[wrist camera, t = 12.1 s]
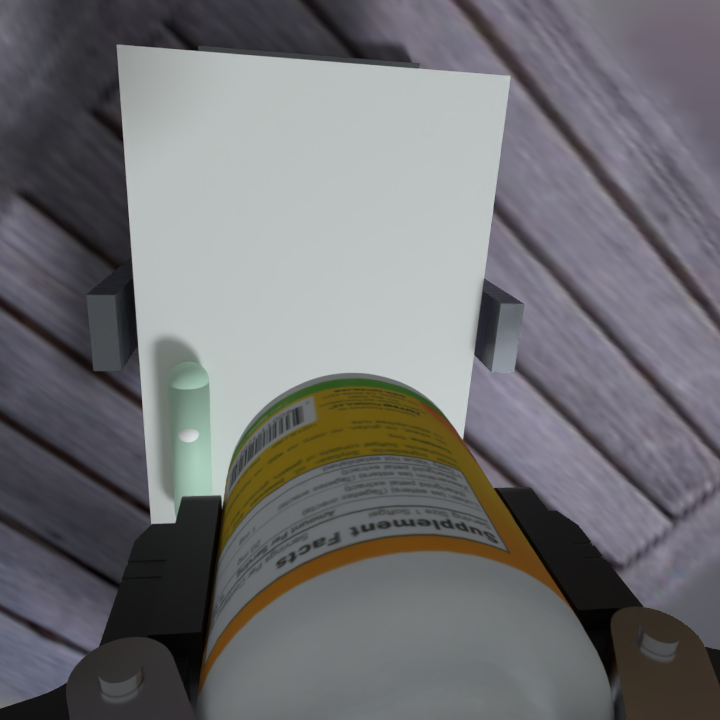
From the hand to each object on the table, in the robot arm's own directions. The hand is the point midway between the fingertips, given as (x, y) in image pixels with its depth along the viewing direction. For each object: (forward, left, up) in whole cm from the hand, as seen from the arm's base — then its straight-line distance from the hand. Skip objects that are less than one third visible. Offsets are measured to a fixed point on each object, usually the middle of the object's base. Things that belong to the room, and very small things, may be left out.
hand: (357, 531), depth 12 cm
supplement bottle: (0, 0, -2) cm, 2 cm away
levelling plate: (0, 0, -14) cm, 14 cm away
